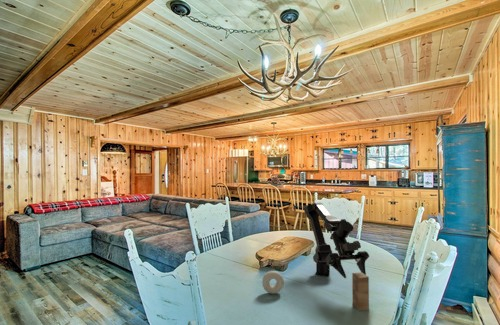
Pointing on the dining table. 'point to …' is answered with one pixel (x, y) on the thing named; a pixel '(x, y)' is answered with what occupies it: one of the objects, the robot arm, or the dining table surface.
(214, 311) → the dining table surface
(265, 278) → the donut
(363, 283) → the walnut block
